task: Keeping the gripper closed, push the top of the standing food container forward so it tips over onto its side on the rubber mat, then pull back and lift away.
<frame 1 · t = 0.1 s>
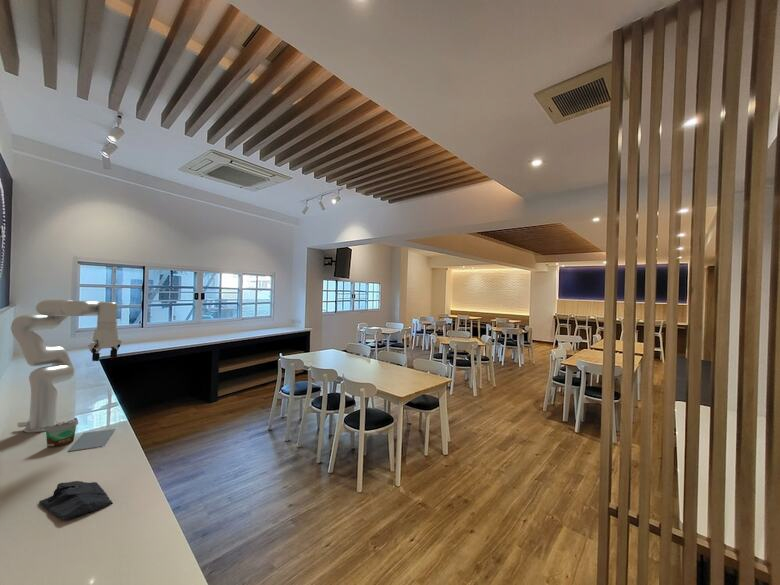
hand: (104, 359, 167), 37 cm above the table, tool pointing down, fingers open, 9 cm apart
food container: (64, 444, 152), on the table
dark slate chunk: (76, 504, 110), on the table
rubber mat: (93, 439, 157), on the table
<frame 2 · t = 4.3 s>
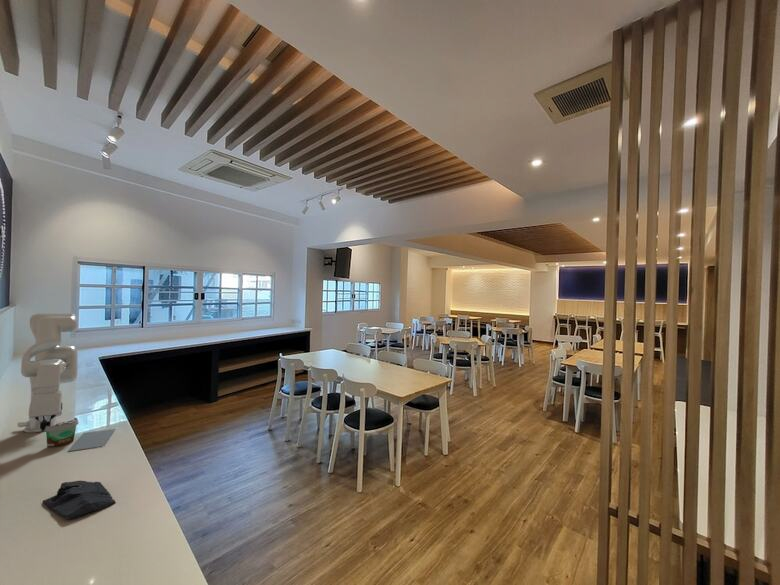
hand: (45, 429, 149), 8 cm above the table, tool pointing down, fingers closed
food container: (64, 444, 152), on the table, touching gripper
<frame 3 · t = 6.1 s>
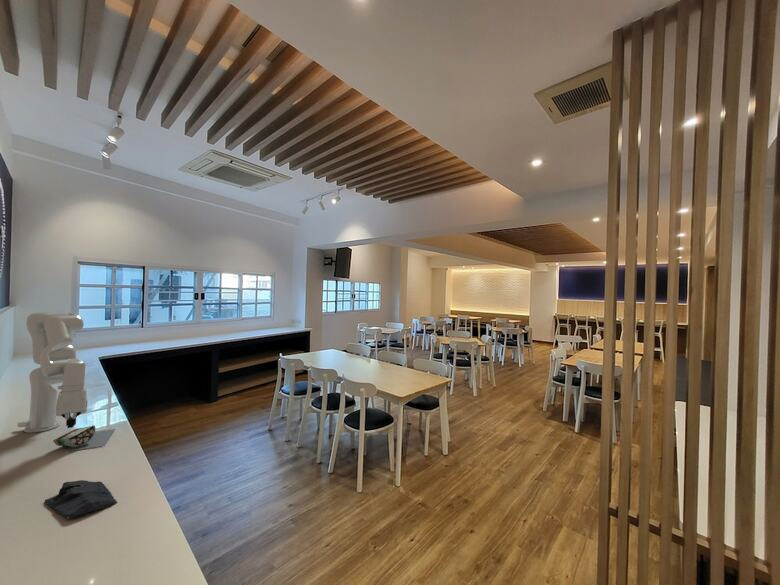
hand: (70, 426, 153), 8 cm above the table, tool pointing down, fingers closed
food container: (66, 440, 151), point 2 cm above the table, touching rubber mat
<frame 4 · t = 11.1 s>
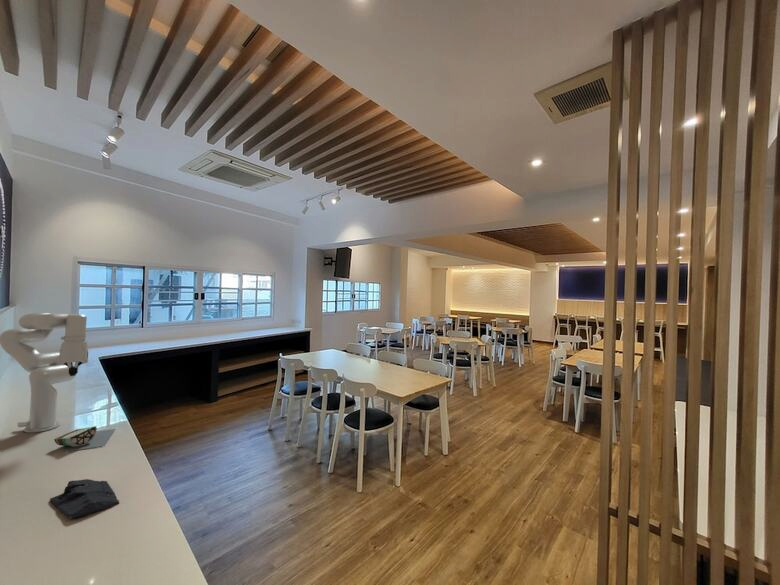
hand: (72, 375, 164), 29 cm above the table, tool pointing down, fingers closed
at the end: food container tilted 79°; food container touching rubber mat, table; food container inside the target area (7.2 cm from its centre), point 1.8 cm above the table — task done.
